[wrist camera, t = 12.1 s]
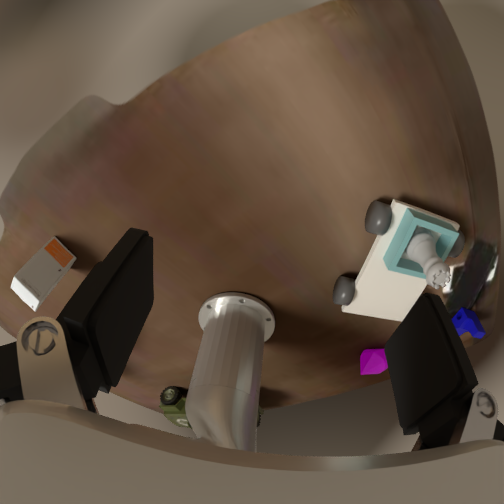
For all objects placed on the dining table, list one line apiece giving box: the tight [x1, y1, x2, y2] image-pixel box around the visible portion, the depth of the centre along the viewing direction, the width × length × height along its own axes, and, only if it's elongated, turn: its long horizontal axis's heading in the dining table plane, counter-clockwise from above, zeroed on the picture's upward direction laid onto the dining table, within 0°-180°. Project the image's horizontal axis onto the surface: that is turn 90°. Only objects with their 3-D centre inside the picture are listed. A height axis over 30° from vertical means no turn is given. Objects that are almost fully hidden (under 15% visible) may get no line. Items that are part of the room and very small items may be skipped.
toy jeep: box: [159, 386, 264, 429], centre depth 60 cm, size 12×25×11 cm, turn 113°
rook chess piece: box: [404, 228, 451, 289], centre depth 30 cm, size 4×4×8 cm
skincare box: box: [11, 236, 76, 312], centre depth 39 cm, size 6×4×12 cm
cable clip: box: [452, 308, 486, 339], centre depth 44 cm, size 12×4×6 cm, turn 162°
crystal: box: [360, 349, 388, 375], centre depth 49 cm, size 5×5×5 cm
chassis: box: [333, 199, 465, 321], centre depth 36 cm, size 18×15×6 cm
